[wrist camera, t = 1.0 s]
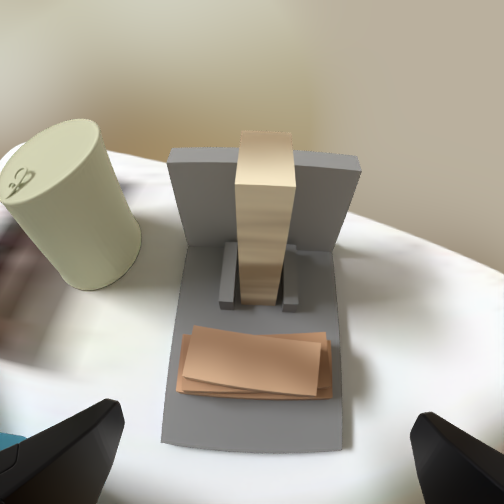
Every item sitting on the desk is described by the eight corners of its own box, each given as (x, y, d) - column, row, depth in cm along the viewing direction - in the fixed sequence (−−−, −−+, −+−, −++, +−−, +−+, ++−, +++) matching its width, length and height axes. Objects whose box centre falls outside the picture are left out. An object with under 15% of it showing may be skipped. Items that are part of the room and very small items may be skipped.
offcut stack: (328, 400, 18) (343, 394, 15) (179, 394, 18) (166, 387, 15) (326, 342, 21) (340, 325, 18) (186, 336, 21) (175, 318, 18)
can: (44, 268, 25) (-23, 185, 15) (94, 202, 29) (52, 111, 19) (106, 307, 23) (28, 214, 13) (159, 225, 28) (125, 116, 18)
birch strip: (275, 305, 22) (295, 186, 12) (241, 304, 22) (234, 184, 12) (275, 259, 24) (291, 132, 14) (244, 258, 24) (241, 130, 14)
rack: (337, 449, 17) (404, 457, 9) (164, 442, 17) (100, 446, 9) (327, 241, 27) (356, 153, 18) (193, 236, 27) (172, 145, 18)
